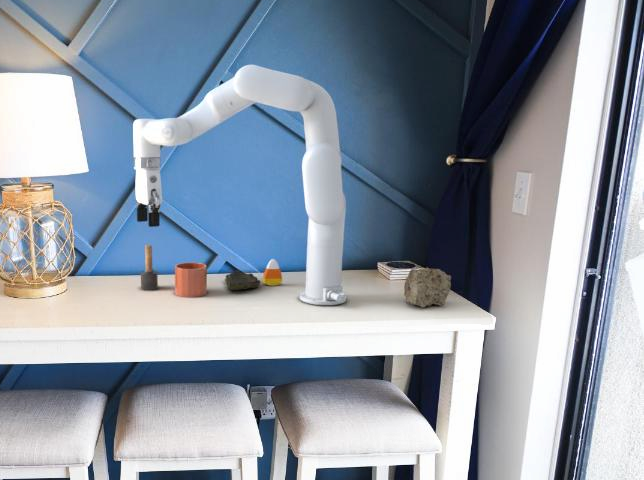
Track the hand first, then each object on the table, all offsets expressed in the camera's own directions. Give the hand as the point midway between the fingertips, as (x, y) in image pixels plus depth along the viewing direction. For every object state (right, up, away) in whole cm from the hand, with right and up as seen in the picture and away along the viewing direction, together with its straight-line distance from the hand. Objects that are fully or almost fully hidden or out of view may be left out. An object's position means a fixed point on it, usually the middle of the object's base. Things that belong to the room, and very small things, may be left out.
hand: (147, 223), depth 184 cm
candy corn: (+37, -18, +8) cm, 42 cm away
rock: (+76, -23, -13) cm, 81 cm away
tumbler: (+12, -20, -1) cm, 24 cm away
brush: (0, -19, +5) cm, 19 cm away
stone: (+28, -18, +7) cm, 34 cm away
